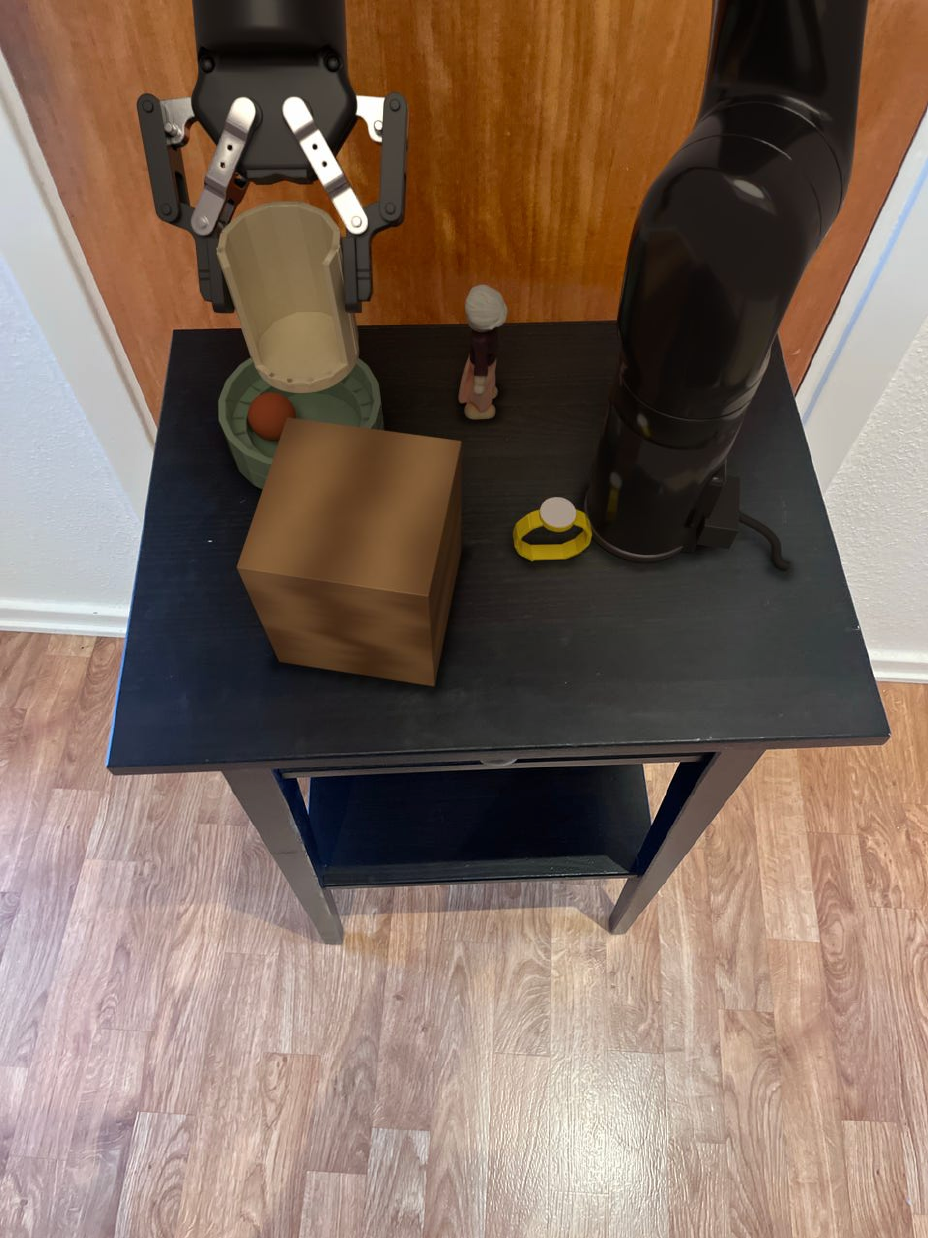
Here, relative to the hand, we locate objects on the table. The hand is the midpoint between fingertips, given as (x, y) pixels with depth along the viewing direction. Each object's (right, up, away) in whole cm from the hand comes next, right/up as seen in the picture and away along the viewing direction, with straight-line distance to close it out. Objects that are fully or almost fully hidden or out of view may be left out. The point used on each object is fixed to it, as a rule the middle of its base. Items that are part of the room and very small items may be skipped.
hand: (289, 311), depth 47 cm
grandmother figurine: (+11, +2, +30) cm, 32 cm away
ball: (-7, 0, +25) cm, 26 cm away
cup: (0, -1, +5) cm, 5 cm away
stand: (+2, -16, +20) cm, 26 cm away
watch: (+16, -12, +22) cm, 30 cm away
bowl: (-4, -1, +28) cm, 28 cm away
